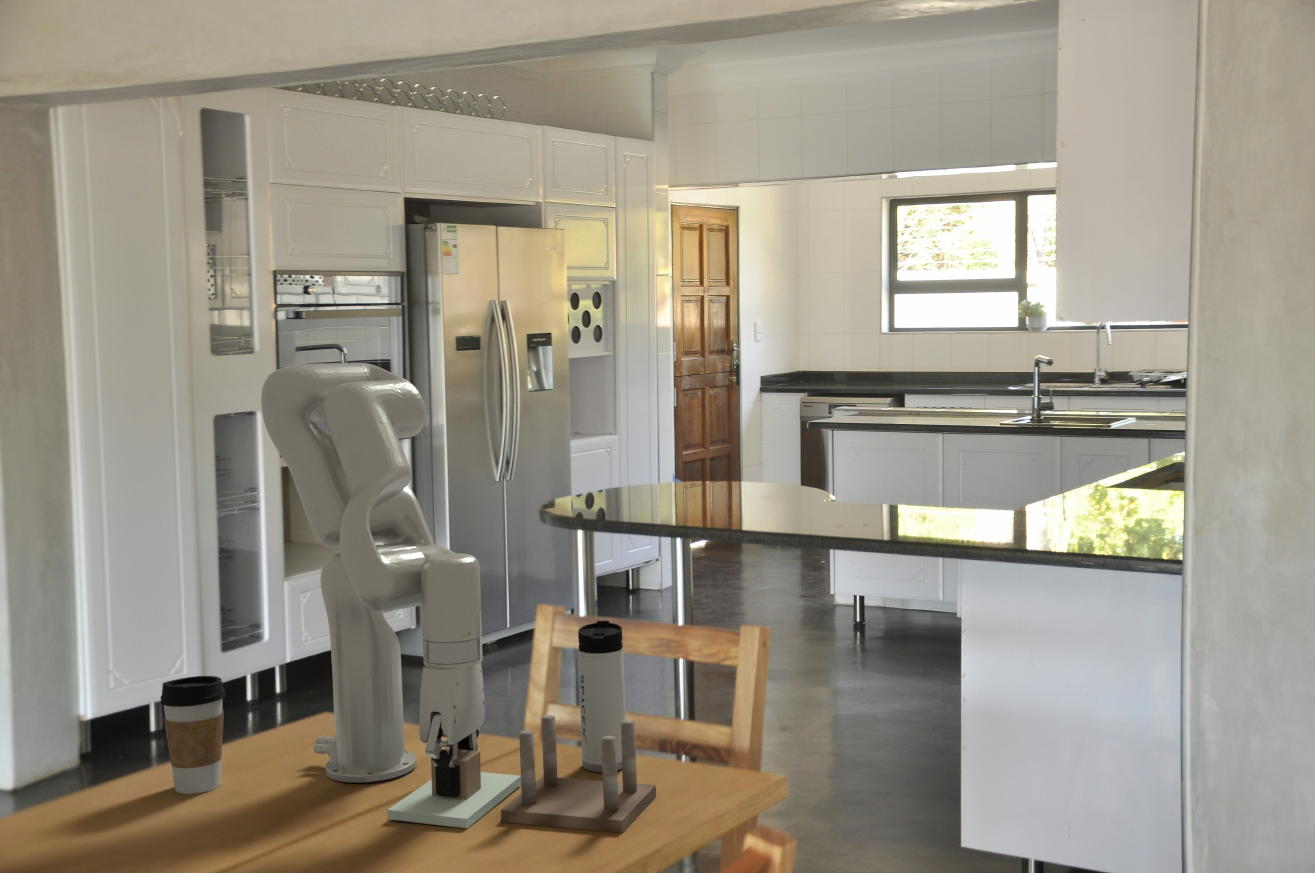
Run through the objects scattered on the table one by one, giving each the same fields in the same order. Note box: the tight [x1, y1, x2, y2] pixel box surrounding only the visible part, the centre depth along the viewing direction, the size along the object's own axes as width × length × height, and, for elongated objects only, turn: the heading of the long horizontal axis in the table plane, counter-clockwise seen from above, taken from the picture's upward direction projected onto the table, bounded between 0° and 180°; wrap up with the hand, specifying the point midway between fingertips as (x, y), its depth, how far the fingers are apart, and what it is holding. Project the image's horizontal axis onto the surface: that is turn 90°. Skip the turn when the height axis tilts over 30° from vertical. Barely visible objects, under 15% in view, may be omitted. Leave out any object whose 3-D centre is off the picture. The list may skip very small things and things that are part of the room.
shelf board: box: [387, 747, 521, 829], centre depth 162 cm, size 16×11×6 cm
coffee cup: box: [159, 675, 226, 795], centre depth 171 cm, size 8×8×15 cm
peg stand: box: [500, 714, 657, 833], centre depth 158 cm, size 16×13×10 cm
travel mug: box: [577, 620, 626, 774], centre depth 175 cm, size 6×7×20 cm
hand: (456, 787), depth 162 cm, fingers closed on shelf board, 4 cm apart
